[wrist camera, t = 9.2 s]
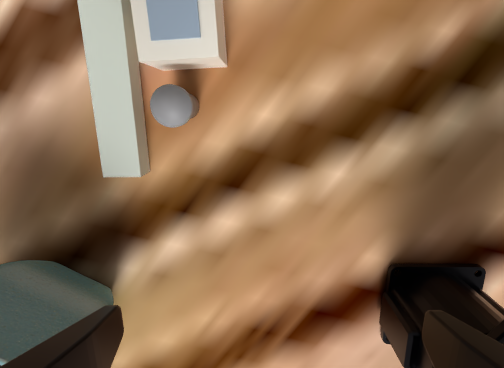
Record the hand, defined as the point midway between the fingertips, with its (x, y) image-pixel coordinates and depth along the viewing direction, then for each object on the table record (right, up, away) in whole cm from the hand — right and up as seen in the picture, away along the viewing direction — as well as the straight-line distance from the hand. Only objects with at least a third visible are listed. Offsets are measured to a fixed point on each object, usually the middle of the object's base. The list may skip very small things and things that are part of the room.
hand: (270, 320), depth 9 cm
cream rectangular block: (-4, +15, +9) cm, 18 cm away
